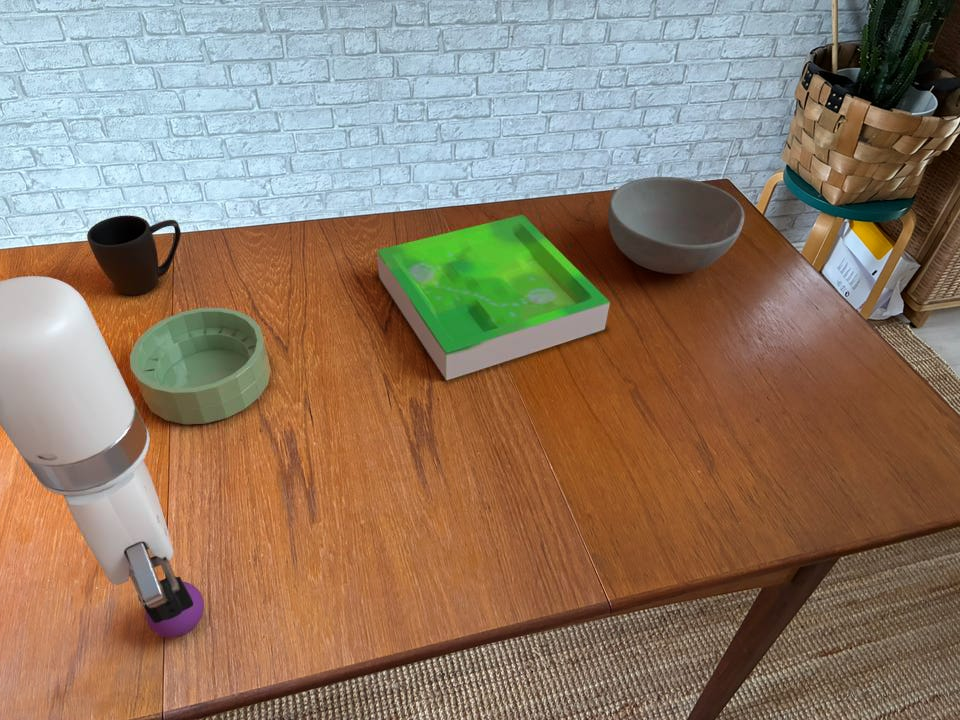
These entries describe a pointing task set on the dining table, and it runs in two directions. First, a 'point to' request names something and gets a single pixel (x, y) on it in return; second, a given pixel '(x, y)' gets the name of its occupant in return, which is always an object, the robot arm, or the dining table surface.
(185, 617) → the ball
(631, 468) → the dining table surface
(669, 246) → the bowl
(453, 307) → the tray
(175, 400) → the green bowl
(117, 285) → the mug
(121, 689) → the dining table surface
